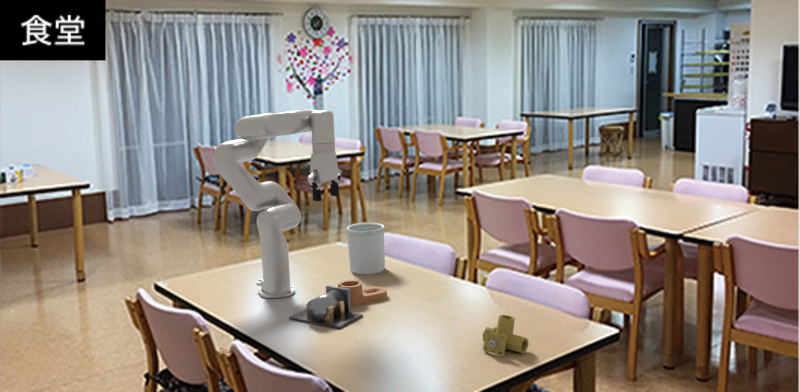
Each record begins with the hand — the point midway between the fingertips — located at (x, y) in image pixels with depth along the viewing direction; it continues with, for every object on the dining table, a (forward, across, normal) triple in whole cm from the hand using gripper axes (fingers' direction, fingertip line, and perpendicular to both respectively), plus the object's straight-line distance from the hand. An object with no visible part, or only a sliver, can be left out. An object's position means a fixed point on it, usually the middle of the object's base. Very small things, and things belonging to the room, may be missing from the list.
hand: (326, 198), depth 268 cm
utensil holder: (+37, -40, -12) cm, 56 cm away
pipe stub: (+37, +13, +8) cm, 40 cm away
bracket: (+37, -8, +8) cm, 39 cm away
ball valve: (+37, +13, +70) cm, 80 cm away
